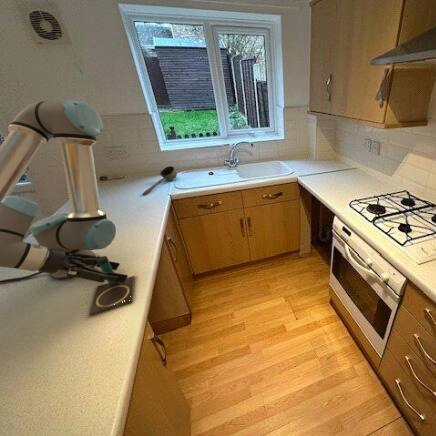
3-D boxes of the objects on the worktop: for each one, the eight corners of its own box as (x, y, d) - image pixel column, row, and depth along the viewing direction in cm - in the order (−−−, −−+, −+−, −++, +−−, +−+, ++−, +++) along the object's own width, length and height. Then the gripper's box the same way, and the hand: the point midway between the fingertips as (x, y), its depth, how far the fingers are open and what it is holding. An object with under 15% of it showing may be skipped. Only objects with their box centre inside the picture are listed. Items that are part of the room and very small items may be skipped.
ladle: (181, 174, 200) (175, 164, 193) (158, 204, 173) (150, 193, 166) (169, 175, 202) (163, 165, 196) (144, 205, 175) (136, 194, 168)
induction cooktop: (90, 315, 79) (89, 313, 78) (98, 288, 90) (97, 286, 89) (132, 302, 83) (131, 300, 83) (135, 277, 94) (134, 275, 94)
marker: (109, 288, 88) (95, 262, 82) (110, 283, 90) (97, 257, 85) (118, 285, 89) (106, 259, 84) (119, 280, 91) (107, 255, 86)
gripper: (54, 263, 66) (136, 276, 84) (46, 235, 80) (118, 251, 97) (38, 288, 65) (124, 296, 83) (33, 255, 79) (108, 268, 96)
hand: (121, 272), depth 90 cm, fingers open, 9 cm apart
